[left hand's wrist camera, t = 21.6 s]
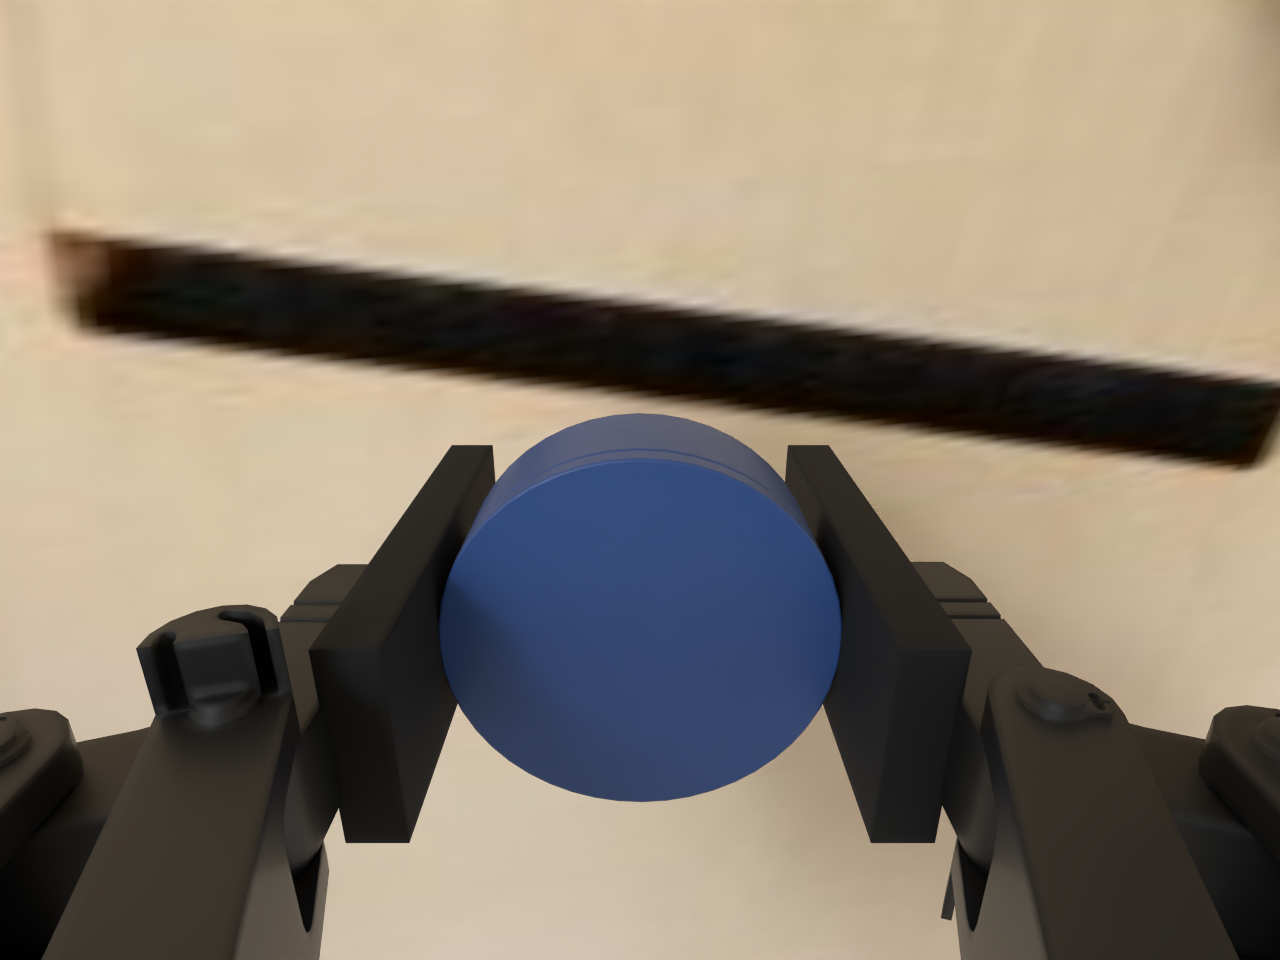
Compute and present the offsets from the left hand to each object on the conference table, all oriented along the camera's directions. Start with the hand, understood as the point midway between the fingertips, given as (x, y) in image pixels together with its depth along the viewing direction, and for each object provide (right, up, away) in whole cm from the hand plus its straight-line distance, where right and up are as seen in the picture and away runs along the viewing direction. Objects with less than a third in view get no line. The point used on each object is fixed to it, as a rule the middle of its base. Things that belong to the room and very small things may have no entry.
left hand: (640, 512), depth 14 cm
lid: (0, -2, -4) cm, 4 cm away
